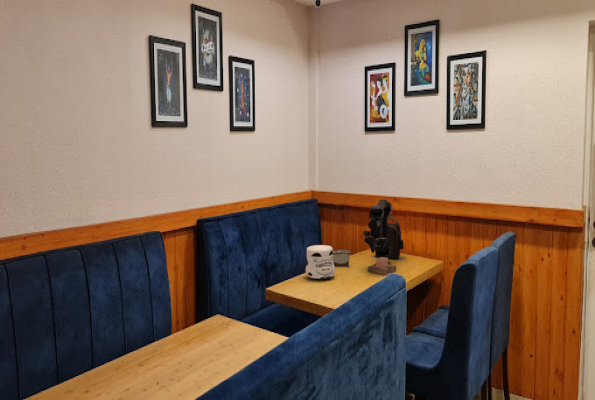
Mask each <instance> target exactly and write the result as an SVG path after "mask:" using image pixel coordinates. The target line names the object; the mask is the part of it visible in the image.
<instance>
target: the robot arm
mask: <svg viewBox="0 0 595 400" xmlns="http://www.w3.org/2000/svg"><path fill="white" fill-rule="evenodd" d="M392 213H393V206H392V203H391V202H389V201H388V199H379V201H378V202H377V203H376V204H375V205H372V206H371V207H370V209H369V213H368V219H370V221H369V222H368V224H367V227H368V228H369V229H370V230H363V232H362V235H363V236H364V239H363V241H364V243H365V244H367V245H368V246H369V249H370V251H371V253H372V254H375V251H374V250H375V246H376V255H377V254H378V255H379V257H384V258H388V255H391V250H390V247H389V243H388V241H387V240H388V238H390V235H389V234H388V233H387V230H388V223H389V219H390V218H389V217H391V216H392ZM377 239H379V240H378V241H377V245H376V243H375V242H376V240H377ZM387 252H388V253H387ZM379 257H377V258H379ZM388 264H389V265H390V264H391V262H390V261H388Z"/></svg>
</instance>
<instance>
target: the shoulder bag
mask: <svg viewBox="0 0 595 400" xmlns="http://www.w3.org/2000/svg"><path fill="white" fill-rule="evenodd" d="M388 219H390V220H393V221H394V222H395V223H389V222H388V230H387V233H388V234H389V235H390V238H388V240H387V241H388V243H389V247H390V250H391V255H388V260H391V261H397V262H402V261H404V260H406V258H407V257H403V256H402V257H401V250H404V248H405V246H404V239H402V233H403V230H401V225H400V223H399V221H398V220H397V219H396V218H394V217H391V216H390V217H389V218H388ZM378 240H379V239H377V240H376V242H375V243H376V245H377V241H378ZM387 253H388V252H387ZM371 257H374V258H378V257H379V255H378V254H377V255H376V246H375V250H374V254H373V255H372V256H371Z"/></svg>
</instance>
